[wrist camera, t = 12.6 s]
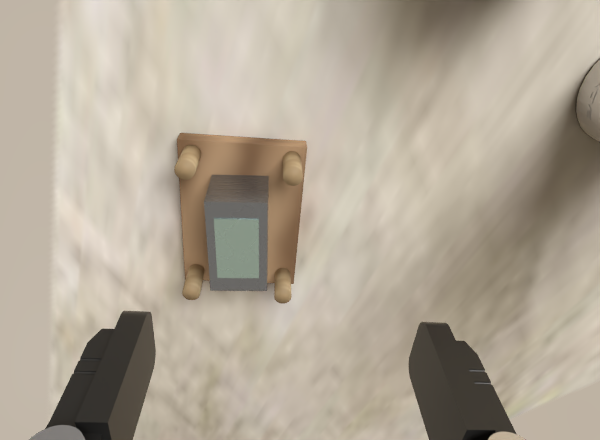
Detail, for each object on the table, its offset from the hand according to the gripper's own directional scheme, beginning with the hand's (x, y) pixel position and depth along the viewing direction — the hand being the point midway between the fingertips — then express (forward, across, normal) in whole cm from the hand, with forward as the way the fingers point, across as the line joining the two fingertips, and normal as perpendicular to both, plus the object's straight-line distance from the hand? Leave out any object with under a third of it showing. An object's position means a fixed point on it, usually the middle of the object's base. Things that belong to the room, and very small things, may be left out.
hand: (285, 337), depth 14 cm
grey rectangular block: (+27, +3, +12) cm, 29 cm away
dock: (+28, +3, +12) cm, 31 cm away
